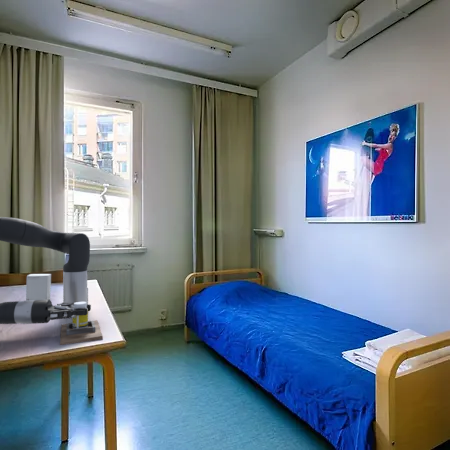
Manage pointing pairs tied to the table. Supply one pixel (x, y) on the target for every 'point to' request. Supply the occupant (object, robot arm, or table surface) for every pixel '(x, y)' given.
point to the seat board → (80, 333)
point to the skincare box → (38, 287)
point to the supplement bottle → (80, 317)
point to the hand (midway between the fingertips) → (88, 309)
